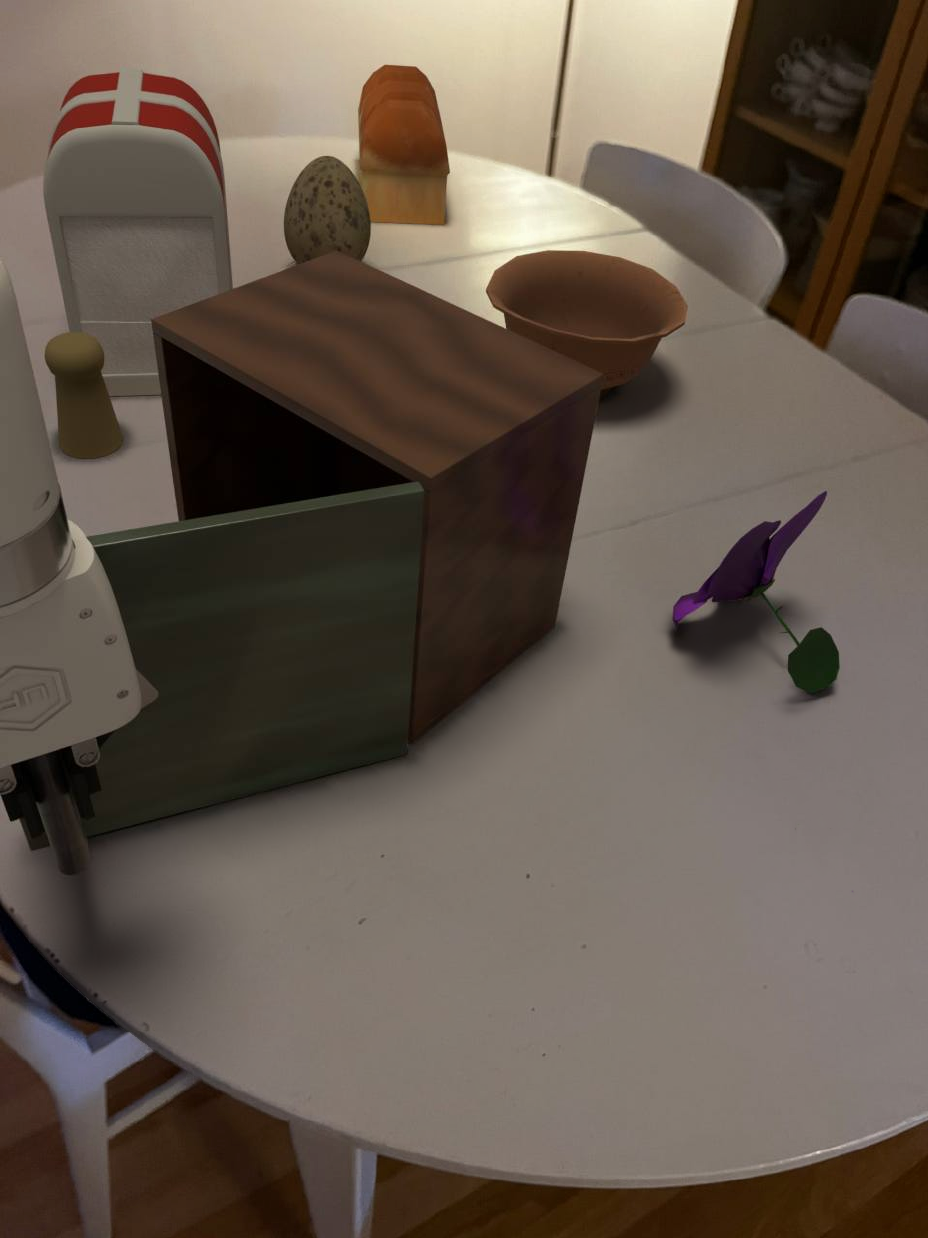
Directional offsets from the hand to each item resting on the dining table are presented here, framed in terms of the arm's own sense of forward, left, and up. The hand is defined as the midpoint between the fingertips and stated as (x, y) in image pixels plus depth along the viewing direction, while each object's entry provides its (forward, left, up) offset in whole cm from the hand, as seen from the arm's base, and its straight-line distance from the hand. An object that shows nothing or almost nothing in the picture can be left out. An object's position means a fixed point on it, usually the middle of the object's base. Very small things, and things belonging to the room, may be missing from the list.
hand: (57, 806), depth 54 cm
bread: (+54, +114, -13) cm, 127 cm away
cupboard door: (+10, +4, -12) cm, 16 cm away
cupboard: (+24, +25, -13) cm, 37 cm away
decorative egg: (+36, +87, -13) cm, 95 cm away
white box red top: (+13, +71, -13) cm, 73 cm away
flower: (+54, +11, -13) cm, 57 cm away
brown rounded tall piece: (+4, +55, -13) cm, 56 cm away
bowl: (+57, +56, -13) cm, 81 cm away
